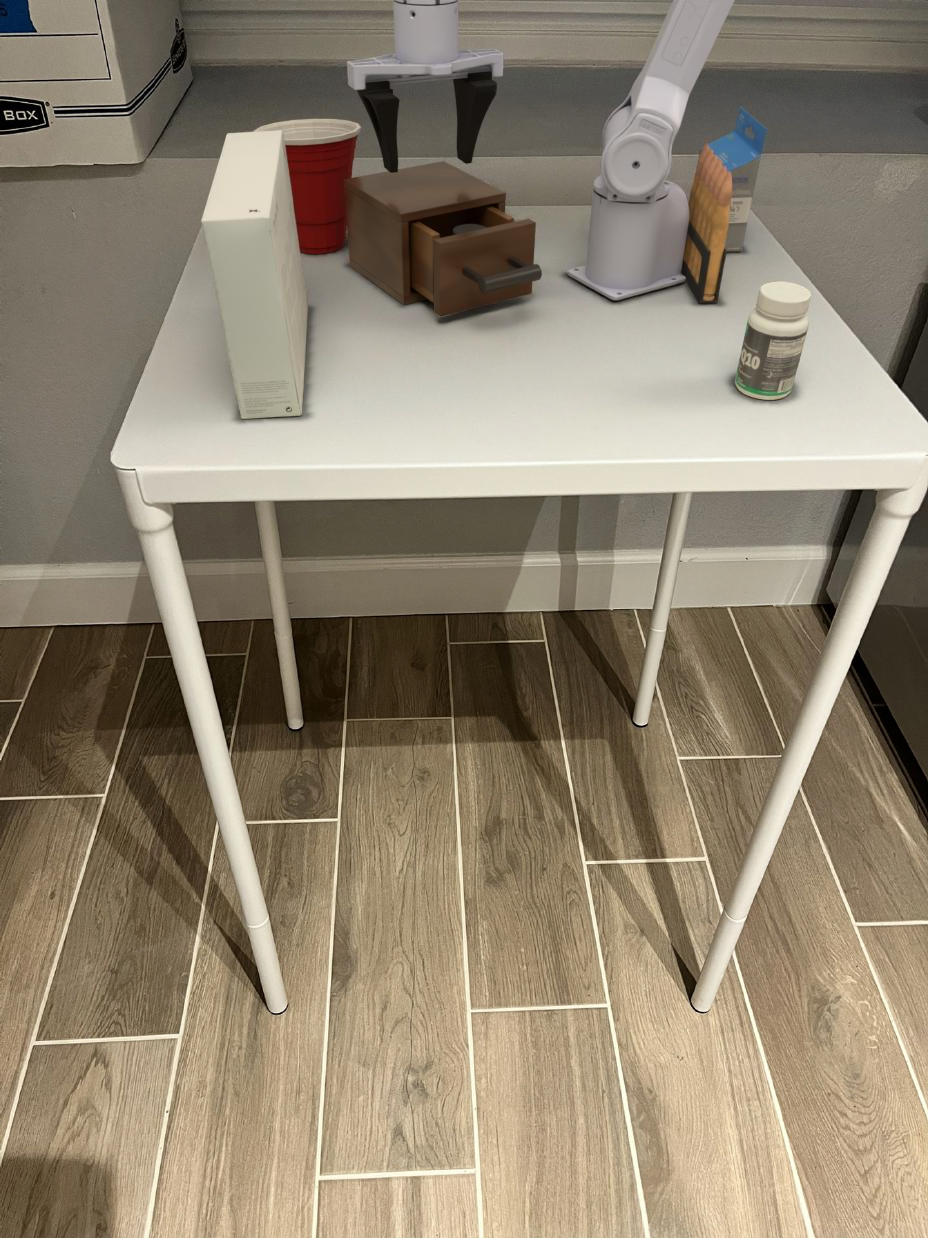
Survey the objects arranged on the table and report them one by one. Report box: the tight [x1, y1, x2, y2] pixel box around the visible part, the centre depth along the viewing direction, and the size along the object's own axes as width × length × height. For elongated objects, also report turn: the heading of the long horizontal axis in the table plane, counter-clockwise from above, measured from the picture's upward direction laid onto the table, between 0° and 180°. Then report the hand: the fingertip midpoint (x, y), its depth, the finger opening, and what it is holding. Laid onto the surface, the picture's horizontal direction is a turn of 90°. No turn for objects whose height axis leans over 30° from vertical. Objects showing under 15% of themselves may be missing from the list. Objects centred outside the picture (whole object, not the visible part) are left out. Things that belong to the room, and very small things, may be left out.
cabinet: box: [344, 160, 507, 306], centre depth 96 cm, size 12×12×9 cm
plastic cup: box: [253, 118, 362, 255], centre depth 101 cm, size 11×11×12 cm
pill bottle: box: [734, 281, 812, 401], centre depth 79 cm, size 5×5×8 cm
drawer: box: [408, 205, 543, 318], centre depth 91 cm, size 15×10×7 cm
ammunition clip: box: [681, 142, 732, 304], centre depth 94 cm, size 11×2×12 cm, turn 3°
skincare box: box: [200, 130, 309, 420], centre depth 79 cm, size 21×6×16 cm, turn 5°
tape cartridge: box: [697, 106, 769, 254], centre depth 103 cm, size 9×4×12 cm, turn 6°
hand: (428, 164), depth 93 cm, fingers open, 7 cm apart
